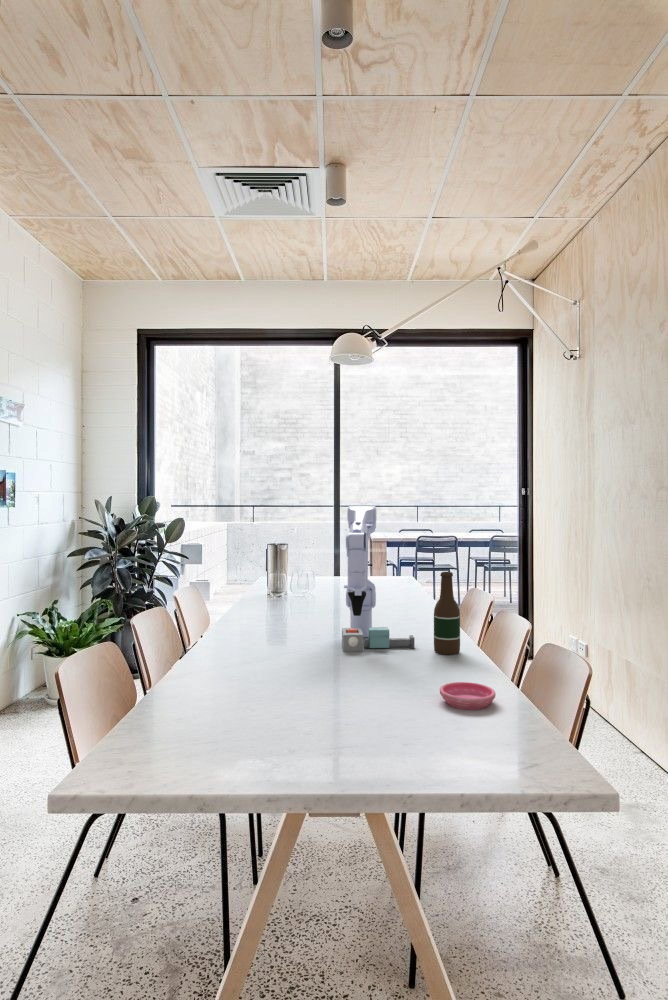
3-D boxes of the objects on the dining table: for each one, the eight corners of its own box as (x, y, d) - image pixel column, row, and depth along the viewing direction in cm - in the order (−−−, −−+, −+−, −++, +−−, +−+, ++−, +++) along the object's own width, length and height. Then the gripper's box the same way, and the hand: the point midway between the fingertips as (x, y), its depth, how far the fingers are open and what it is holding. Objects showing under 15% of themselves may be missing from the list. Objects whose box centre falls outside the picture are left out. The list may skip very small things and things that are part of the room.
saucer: (497, 697, 149) (497, 684, 149) (492, 715, 137) (492, 700, 137) (444, 692, 153) (444, 679, 153) (435, 709, 141) (435, 694, 141)
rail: (364, 645, 200) (364, 635, 200) (412, 645, 200) (412, 635, 200) (365, 648, 196) (365, 638, 196) (414, 648, 196) (414, 637, 196)
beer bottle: (448, 656, 186) (448, 574, 186) (428, 651, 192) (428, 572, 192) (465, 652, 191) (465, 572, 191) (445, 647, 197) (444, 569, 197)
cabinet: (341, 643, 202) (341, 628, 202) (360, 643, 203) (360, 627, 203) (343, 651, 192) (343, 635, 192) (363, 651, 192) (363, 635, 192)
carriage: (368, 644, 200) (368, 627, 200) (387, 644, 200) (387, 627, 200) (369, 648, 195) (369, 630, 195) (389, 647, 196) (389, 630, 196)
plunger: (347, 641, 199) (347, 628, 199) (356, 641, 199) (356, 628, 199) (348, 643, 196) (348, 630, 196) (357, 643, 196) (357, 630, 196)
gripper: (343, 568, 204) (343, 611, 204) (344, 574, 190) (344, 620, 190) (365, 568, 204) (365, 610, 205) (368, 574, 190) (368, 619, 190)
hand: (357, 615), depth 197 cm, fingers closed
